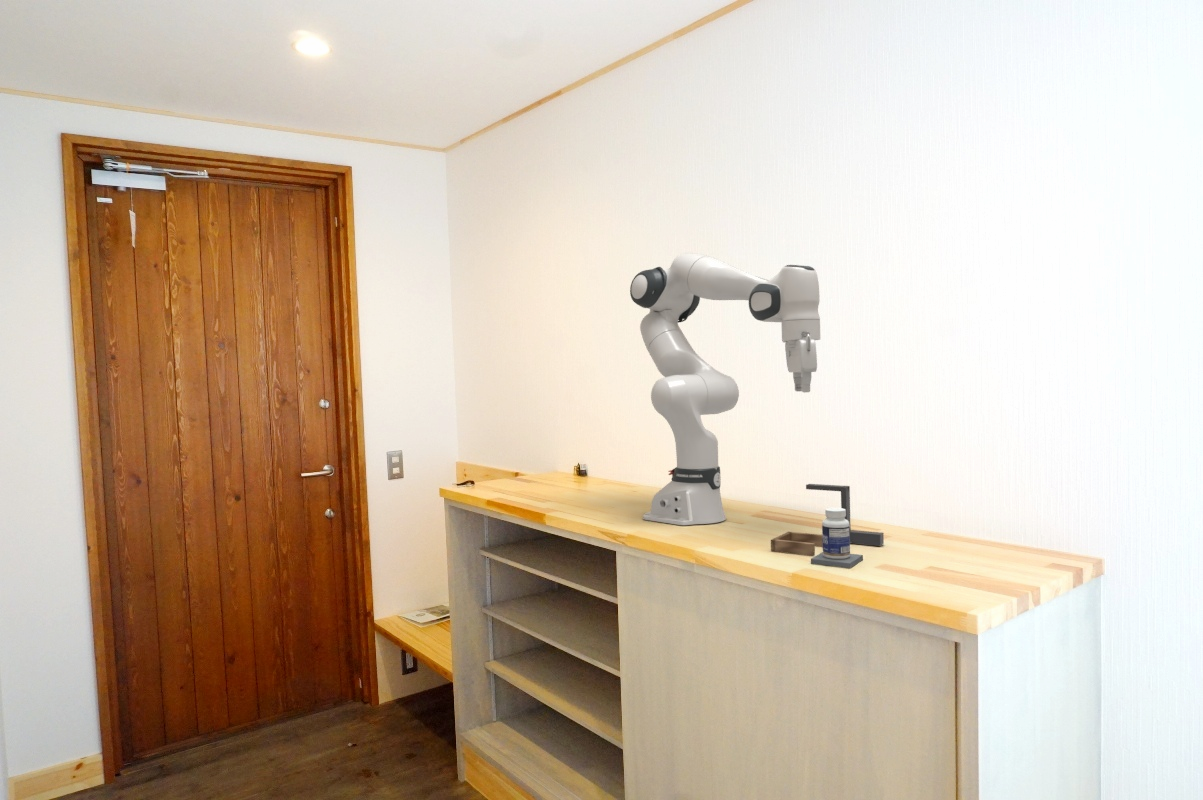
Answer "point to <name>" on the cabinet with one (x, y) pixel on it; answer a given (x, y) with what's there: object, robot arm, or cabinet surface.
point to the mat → (837, 561)
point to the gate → (855, 535)
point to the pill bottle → (836, 534)
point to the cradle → (797, 543)
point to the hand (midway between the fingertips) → (802, 391)
